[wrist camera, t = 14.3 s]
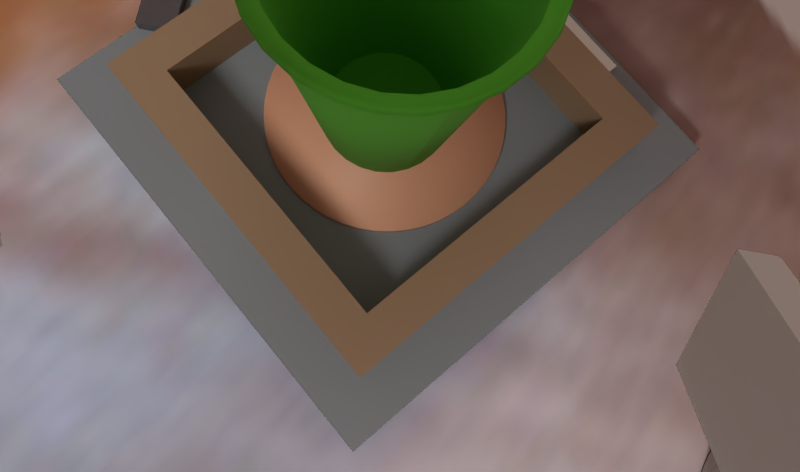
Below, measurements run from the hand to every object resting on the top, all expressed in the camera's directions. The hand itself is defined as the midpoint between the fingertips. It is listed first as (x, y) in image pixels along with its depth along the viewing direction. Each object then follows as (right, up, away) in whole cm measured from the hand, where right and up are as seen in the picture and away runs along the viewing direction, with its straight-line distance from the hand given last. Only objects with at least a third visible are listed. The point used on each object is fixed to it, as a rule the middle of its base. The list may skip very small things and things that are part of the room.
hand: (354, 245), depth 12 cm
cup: (0, +5, +16) cm, 17 cm away
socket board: (0, +5, +17) cm, 18 cm away
